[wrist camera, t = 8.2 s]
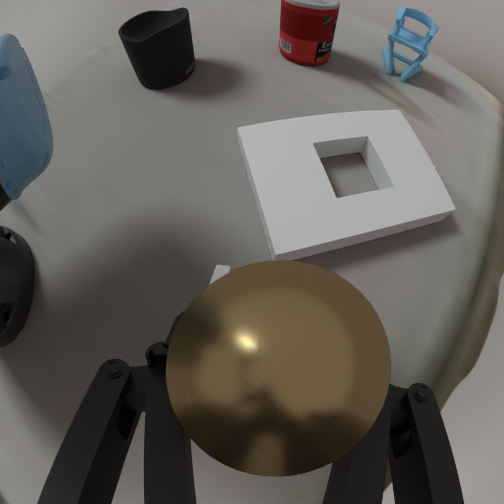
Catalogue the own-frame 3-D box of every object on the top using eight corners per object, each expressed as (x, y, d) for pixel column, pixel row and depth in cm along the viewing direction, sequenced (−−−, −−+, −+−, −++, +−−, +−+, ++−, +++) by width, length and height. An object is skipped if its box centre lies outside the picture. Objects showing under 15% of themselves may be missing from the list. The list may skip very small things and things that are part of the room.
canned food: (324, 72, 35) (336, 10, 25) (272, 59, 36) (274, -2, 26) (332, 50, 38) (343, -5, 27) (285, 38, 39) (289, -15, 28)
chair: (372, 67, 36) (391, 8, 25) (383, 50, 38) (399, -2, 27) (415, 90, 35) (442, 34, 24) (421, 69, 37) (443, 20, 26)
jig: (273, 265, 26) (275, 254, 24) (239, 145, 31) (237, 127, 28) (441, 220, 28) (455, 209, 25) (391, 124, 32) (399, 109, 29)
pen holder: (151, 101, 34) (130, 44, 24) (129, 75, 36) (111, 27, 27) (209, 72, 36) (201, 15, 26) (181, 50, 38) (170, 1, 29)
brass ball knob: (231, 408, 17) (201, 492, 6) (209, 323, 19) (145, 289, 8) (319, 385, 18) (407, 431, 6) (296, 301, 19) (355, 237, 8)
